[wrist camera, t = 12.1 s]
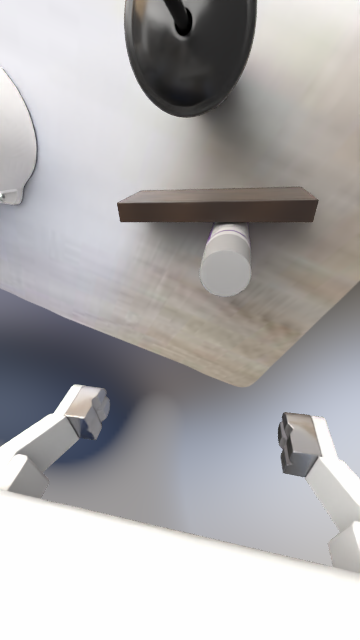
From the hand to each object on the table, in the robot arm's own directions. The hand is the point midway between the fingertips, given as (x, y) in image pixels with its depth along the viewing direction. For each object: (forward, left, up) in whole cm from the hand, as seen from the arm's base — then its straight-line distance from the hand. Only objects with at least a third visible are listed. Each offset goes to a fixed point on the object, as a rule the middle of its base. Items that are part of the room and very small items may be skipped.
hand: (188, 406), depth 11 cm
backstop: (-1, +4, -28) cm, 28 cm away
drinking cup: (-2, +15, -28) cm, 32 cm away
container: (+1, 0, -28) cm, 28 cm away
